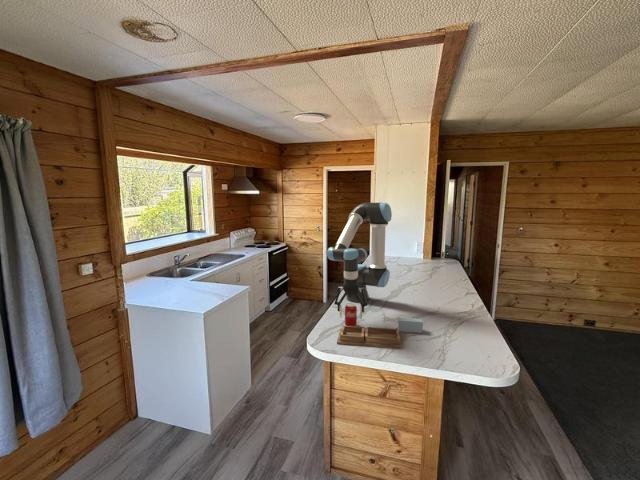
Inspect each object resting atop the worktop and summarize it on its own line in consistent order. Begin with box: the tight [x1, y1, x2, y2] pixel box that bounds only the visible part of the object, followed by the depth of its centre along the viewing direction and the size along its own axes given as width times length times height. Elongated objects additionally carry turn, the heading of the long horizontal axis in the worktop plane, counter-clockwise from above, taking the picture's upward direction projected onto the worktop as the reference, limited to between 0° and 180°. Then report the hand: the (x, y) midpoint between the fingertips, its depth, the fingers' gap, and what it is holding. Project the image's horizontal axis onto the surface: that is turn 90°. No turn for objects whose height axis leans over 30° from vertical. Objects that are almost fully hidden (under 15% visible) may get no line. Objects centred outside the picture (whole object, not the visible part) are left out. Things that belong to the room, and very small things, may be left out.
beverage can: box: [344, 302, 358, 326], centre depth 170 cm, size 6×6×12 cm
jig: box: [336, 324, 402, 349], centre depth 155 cm, size 14×30×4 cm, turn 80°
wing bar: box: [397, 317, 424, 334], centre depth 164 cm, size 4×12×6 cm, turn 80°
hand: (350, 317), depth 170 cm, fingers open, 10 cm apart
